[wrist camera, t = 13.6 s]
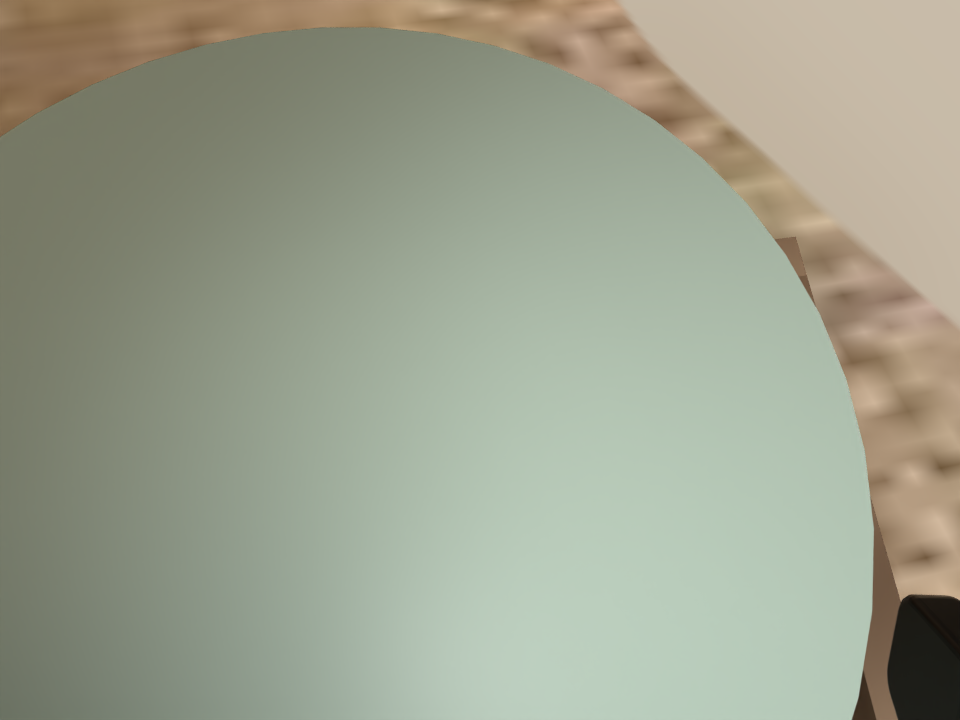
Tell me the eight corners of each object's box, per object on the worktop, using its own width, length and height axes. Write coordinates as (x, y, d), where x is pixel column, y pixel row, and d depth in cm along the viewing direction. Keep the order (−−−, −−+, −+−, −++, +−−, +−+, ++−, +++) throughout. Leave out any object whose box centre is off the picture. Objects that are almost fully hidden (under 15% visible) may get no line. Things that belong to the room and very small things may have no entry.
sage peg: (558, 871, 15) (645, 1609, 2) (310, 751, 16) (-569, 804, 3) (647, 602, 17) (979, 175, 4) (418, 509, 18) (109, -58, 5)
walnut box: (903, 1043, 15) (1068, 1183, 10) (149, 1112, 15) (-24, 1278, 10) (737, 351, 20) (795, 236, 15) (186, 413, 20) (83, 319, 16)
